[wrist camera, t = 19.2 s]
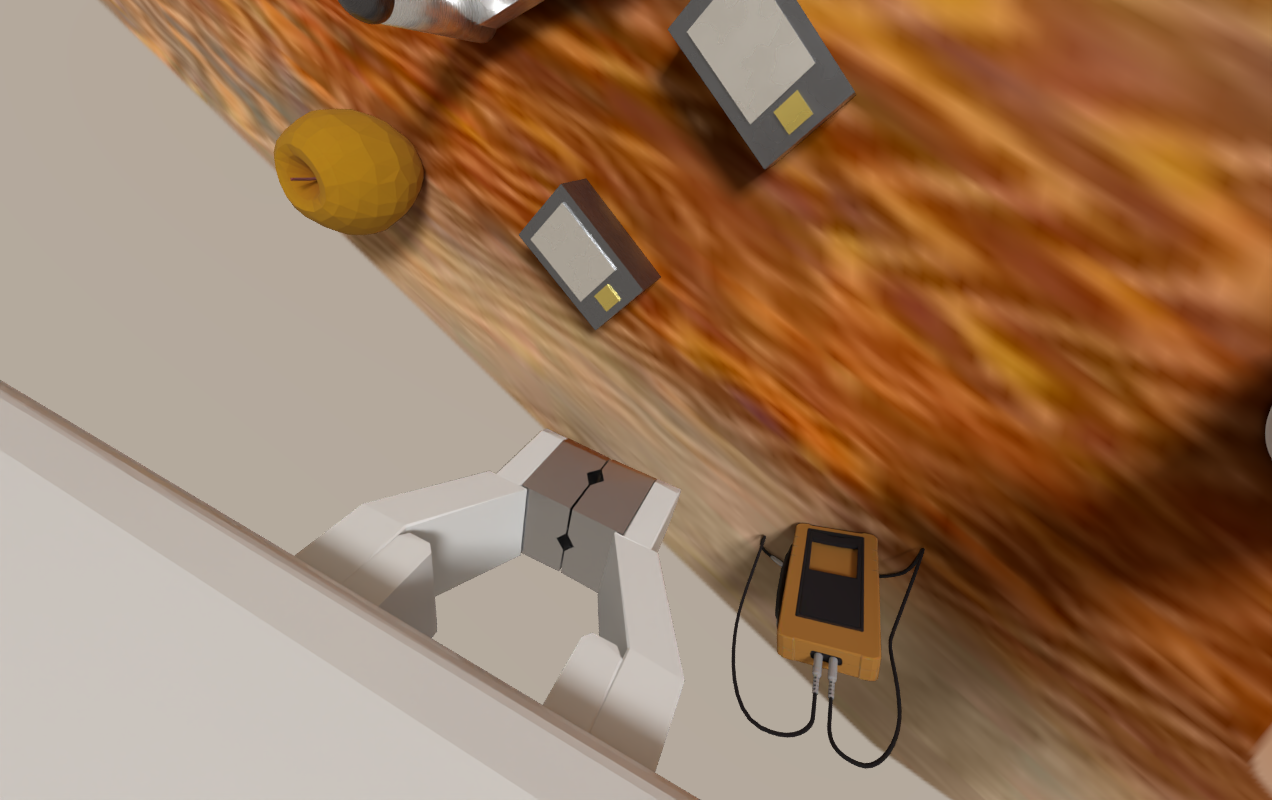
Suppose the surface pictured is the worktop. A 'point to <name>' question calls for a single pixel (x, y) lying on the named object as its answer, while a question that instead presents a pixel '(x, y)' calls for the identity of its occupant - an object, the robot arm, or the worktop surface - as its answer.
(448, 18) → the grey crank handle
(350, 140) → the apple
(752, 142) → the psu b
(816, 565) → the multimeter
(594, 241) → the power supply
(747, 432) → the worktop surface
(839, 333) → the worktop surface
